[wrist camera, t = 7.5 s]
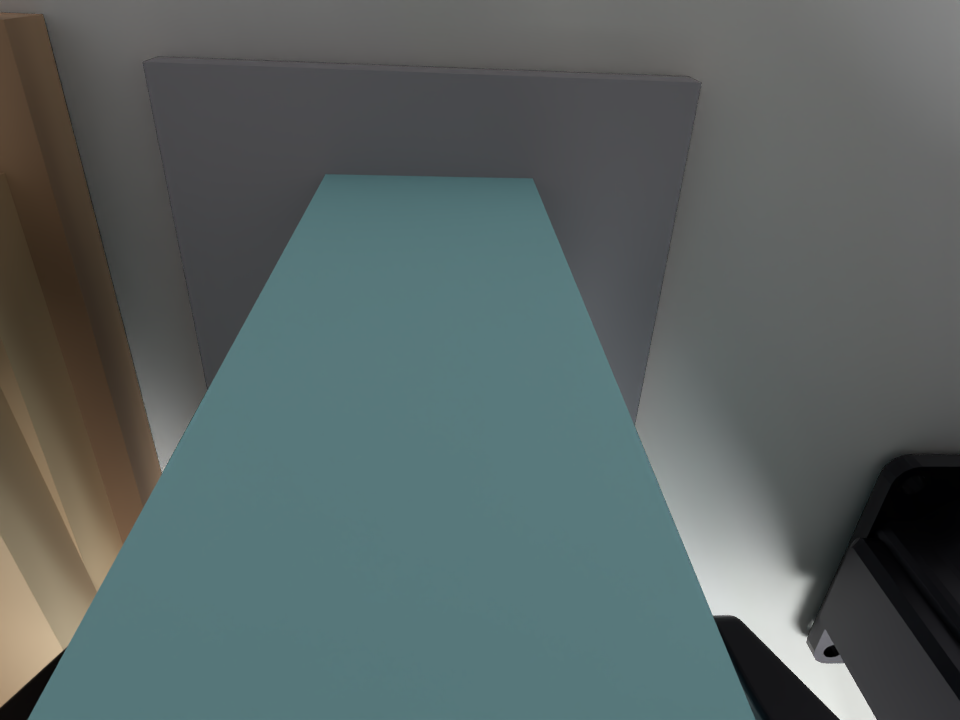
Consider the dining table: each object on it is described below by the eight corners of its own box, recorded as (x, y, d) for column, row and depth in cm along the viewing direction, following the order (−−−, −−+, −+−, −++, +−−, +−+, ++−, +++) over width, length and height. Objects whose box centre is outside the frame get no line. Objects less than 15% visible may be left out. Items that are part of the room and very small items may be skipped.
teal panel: (533, 178, 11) (932, 1154, 2) (501, 608, 16) (572, 1400, 7) (325, 174, 10) (-251, 1228, 2) (361, 610, 15) (260, 1426, 7)
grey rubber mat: (688, 76, 10) (701, 82, 10) (586, 627, 17) (591, 648, 17) (158, 57, 10) (142, 62, 9) (265, 632, 17) (259, 653, 16)
